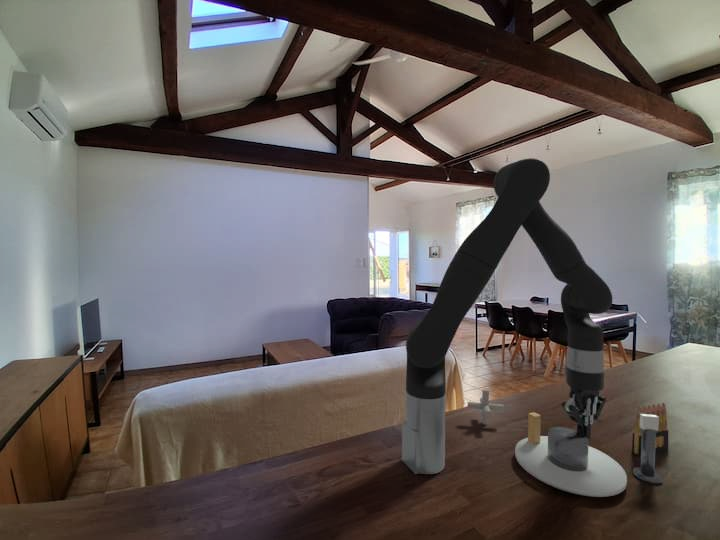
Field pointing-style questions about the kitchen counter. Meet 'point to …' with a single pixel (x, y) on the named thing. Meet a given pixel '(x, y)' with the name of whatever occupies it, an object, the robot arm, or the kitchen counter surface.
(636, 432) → the ammunition clip
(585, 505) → the kitchen counter surface
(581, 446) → the cover
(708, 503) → the kitchen counter surface
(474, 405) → the pipe connector
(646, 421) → the stand
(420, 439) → the robot arm
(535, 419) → the platter
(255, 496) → the kitchen counter surface
